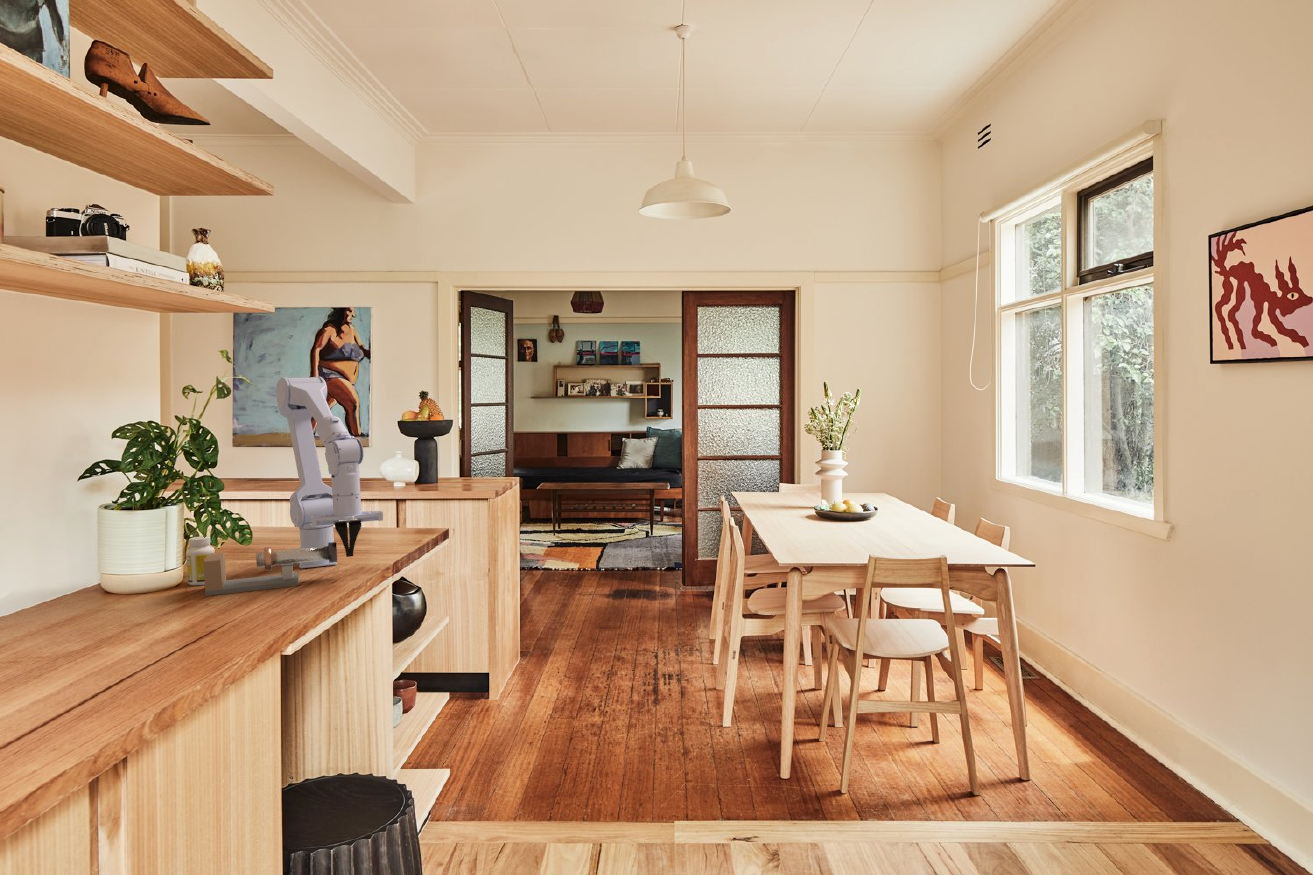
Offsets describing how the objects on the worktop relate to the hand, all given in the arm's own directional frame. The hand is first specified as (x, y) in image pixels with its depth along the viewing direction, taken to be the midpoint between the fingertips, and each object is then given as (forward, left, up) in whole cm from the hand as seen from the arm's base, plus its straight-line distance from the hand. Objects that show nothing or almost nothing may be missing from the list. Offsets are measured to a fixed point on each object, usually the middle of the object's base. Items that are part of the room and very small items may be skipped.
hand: (349, 555), depth 174 cm
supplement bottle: (-9, -29, -5) cm, 31 cm away
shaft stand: (0, -18, -4) cm, 19 cm away
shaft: (0, -10, -1) cm, 10 cm away
